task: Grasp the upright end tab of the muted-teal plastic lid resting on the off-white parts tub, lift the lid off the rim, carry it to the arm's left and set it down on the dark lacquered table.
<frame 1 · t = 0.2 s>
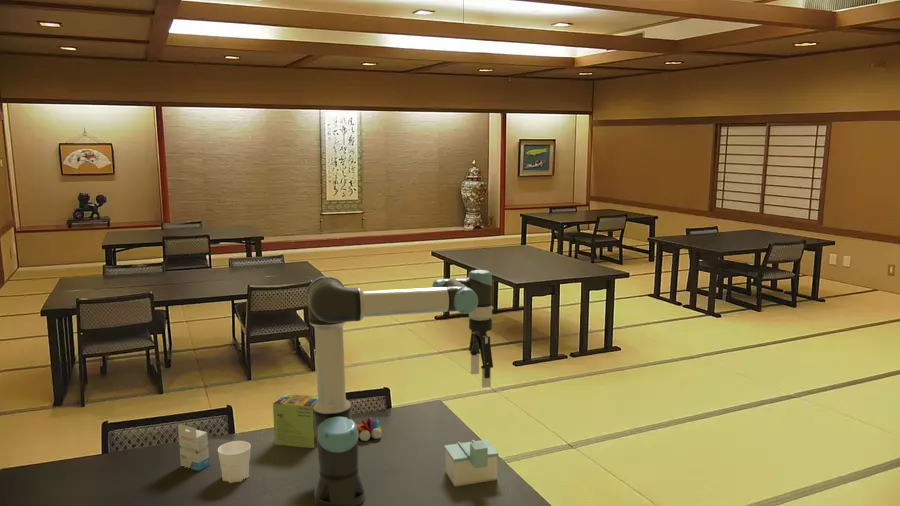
hand: (480, 380, 227), 28 cm above the table, fingers open, 13 cm apart
protein box: (300, 441, 247), on the table
lid: (470, 452, 218), point 8 cm above the table, touching tub
cup: (235, 477, 220), on the table
tub: (471, 475, 219), on the table
rainbow disc toy: (368, 437, 250), on the table
ink box: (195, 466, 227), on the table
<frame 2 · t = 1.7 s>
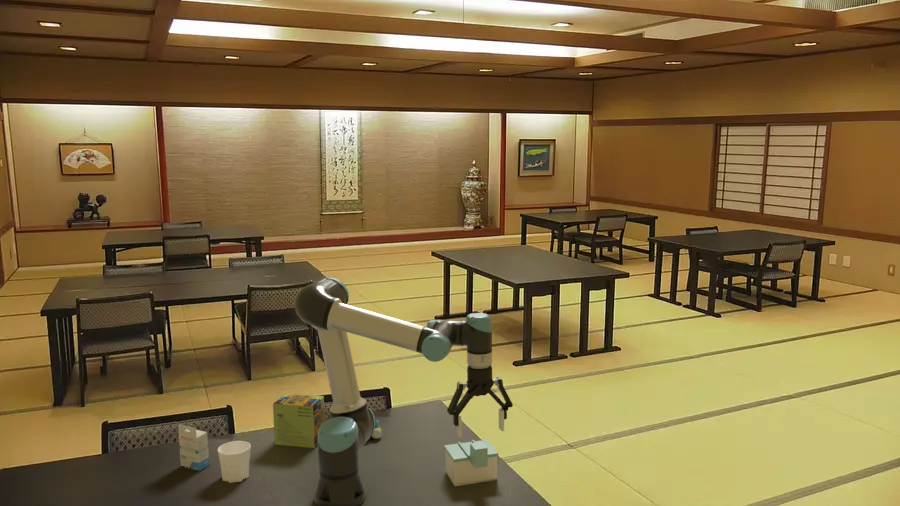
hand: (480, 432, 208), 18 cm above the table, fingers open, 13 cm apart
nothing on the table moved.
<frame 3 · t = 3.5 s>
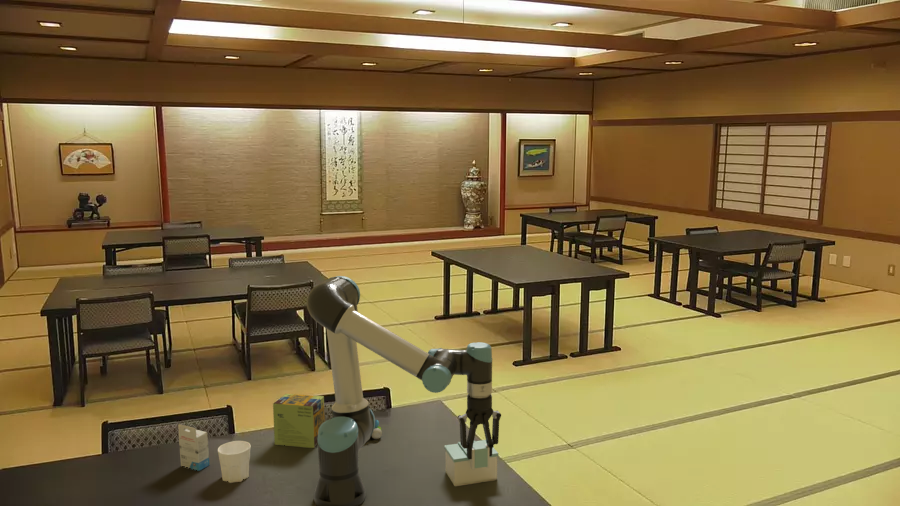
hand: (479, 467, 210), 7 cm above the table, fingers closed on lid, 4 cm apart
lid: (470, 452, 218), point 8 cm above the table, touching gripper, tub
everything else where it was.
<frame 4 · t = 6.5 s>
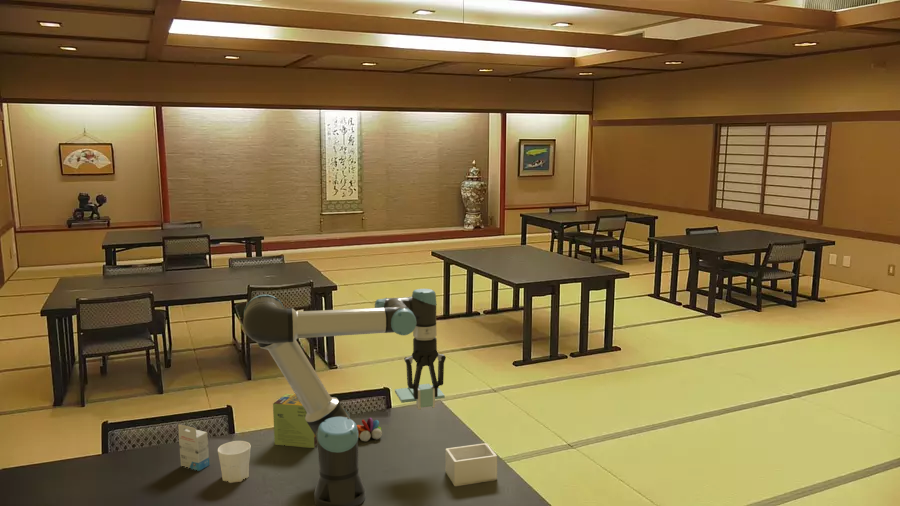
hand: (425, 407, 223), 20 cm above the table, fingers closed on lid, 4 cm apart
lid: (419, 394, 230), point 22 cm above the table, touching gripper
everything else where it was.
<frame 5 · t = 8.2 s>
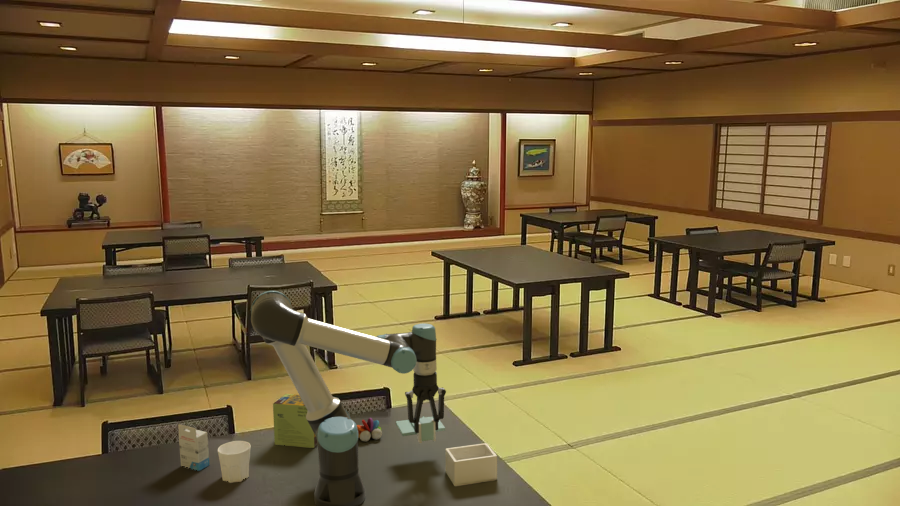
hand: (426, 440, 224), 9 cm above the table, fingers closed on lid, 4 cm apart
lid: (420, 427, 232), point 10 cm above the table, touching gripper
everything else where it was.
when the fingers open (2 cm above the table, at t = 9.6 s): lid drops 2 cm, point 1 cm above the table.
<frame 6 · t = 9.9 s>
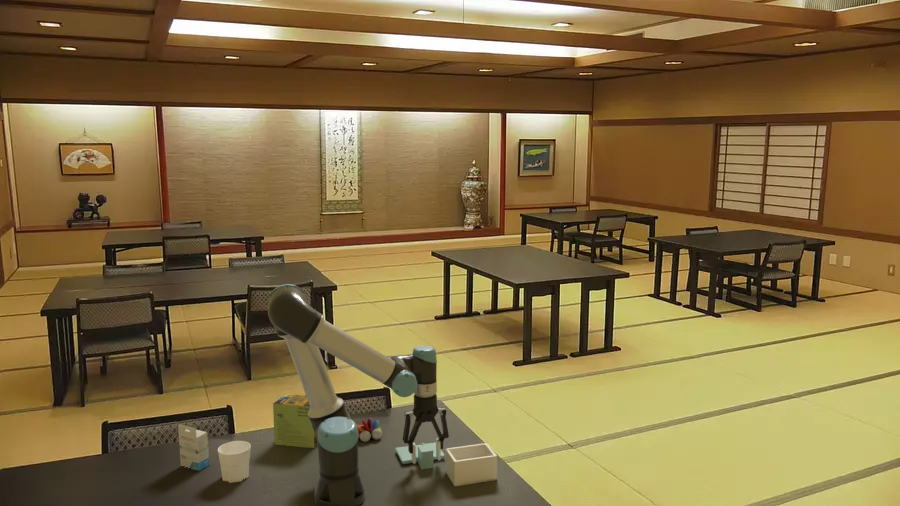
hand: (426, 460, 225), 2 cm above the table, fingers open, 8 cm apart
lid: (419, 454, 233), point 1 cm above the table
everything else where it was.
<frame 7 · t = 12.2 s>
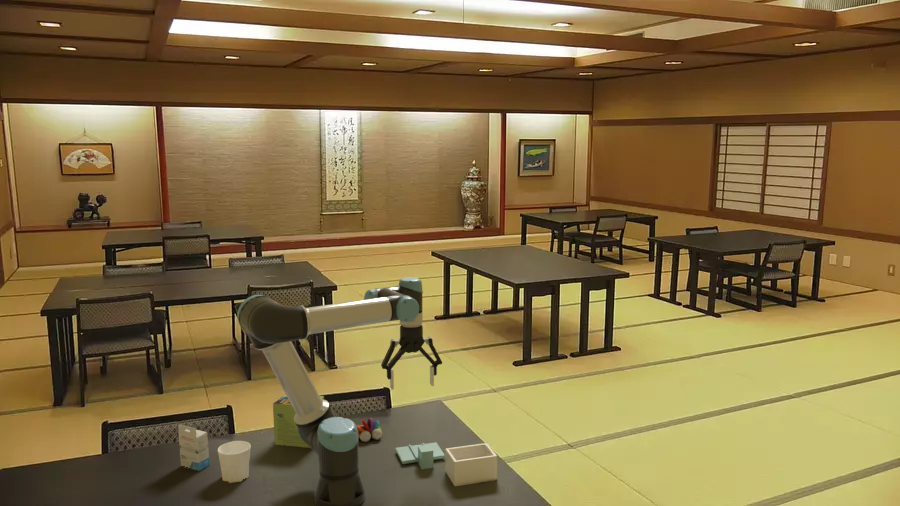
hand: (412, 386, 229), 25 cm above the table, fingers open, 13 cm apart
nothing on the table moved.
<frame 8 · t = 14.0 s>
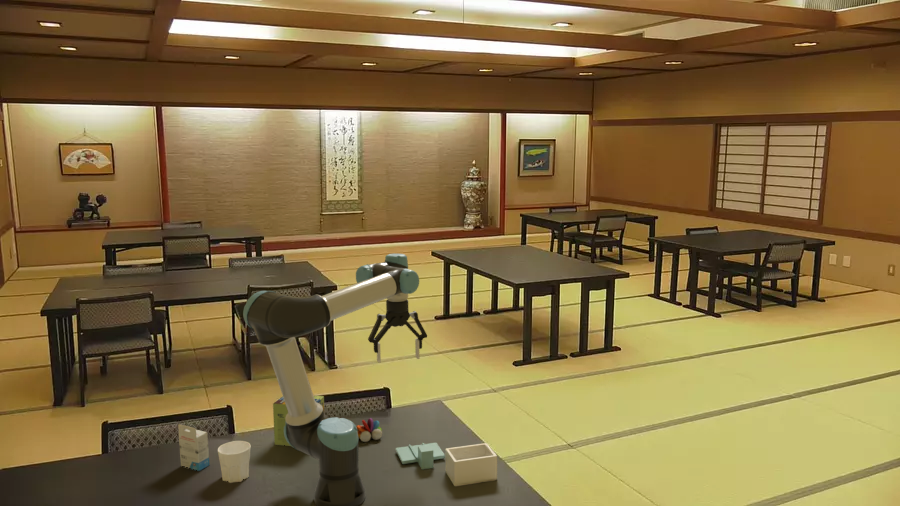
hand: (398, 359, 236), 32 cm above the table, fingers open, 13 cm apart
nothing on the table moved.
at the end: lid point 0.6 cm above the table; lid touching table; lid inside the target area (0.2 cm from its centre), point 0.6 cm above the table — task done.
